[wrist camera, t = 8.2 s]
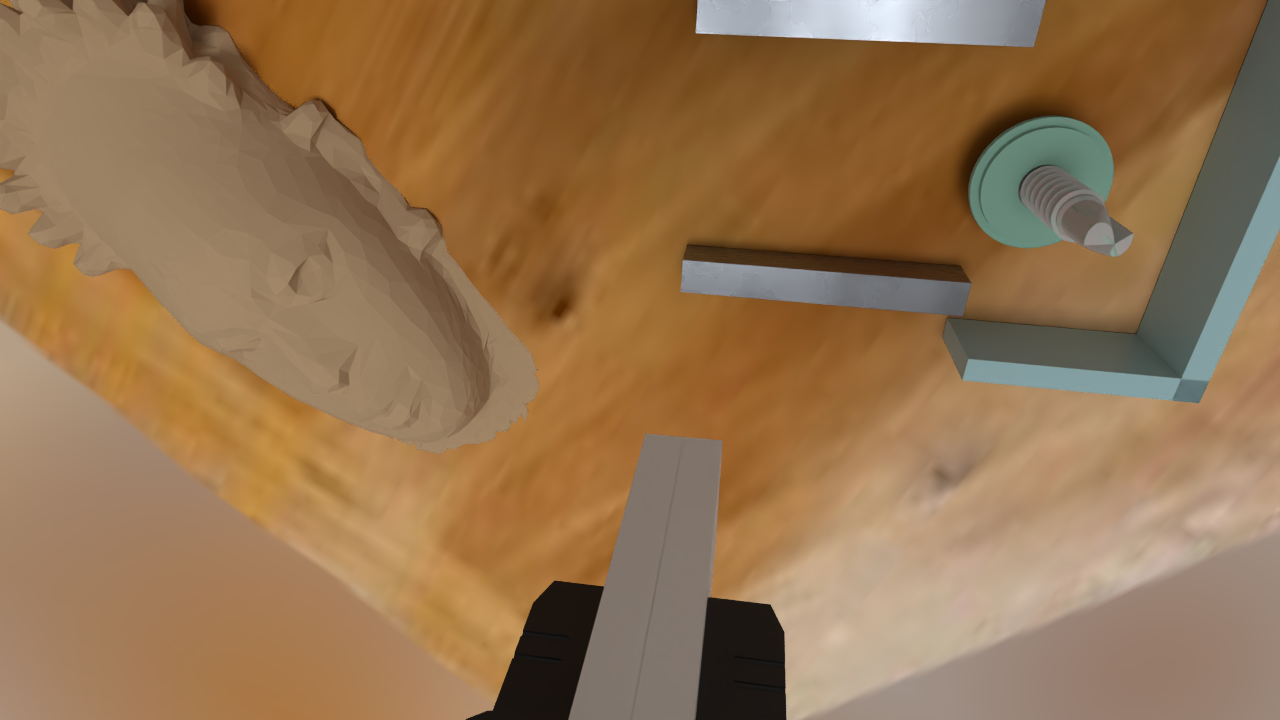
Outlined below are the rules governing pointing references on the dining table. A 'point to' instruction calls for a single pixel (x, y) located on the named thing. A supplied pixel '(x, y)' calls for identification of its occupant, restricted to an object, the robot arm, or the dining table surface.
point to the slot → (855, 10)
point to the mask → (248, 220)
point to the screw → (1047, 187)
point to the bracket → (1168, 269)
